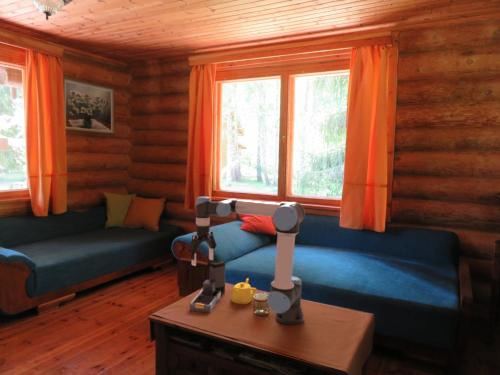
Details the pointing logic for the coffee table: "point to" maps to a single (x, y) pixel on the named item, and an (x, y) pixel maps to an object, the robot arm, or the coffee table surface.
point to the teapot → (242, 293)
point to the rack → (206, 298)
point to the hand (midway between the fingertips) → (202, 262)
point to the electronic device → (218, 275)
